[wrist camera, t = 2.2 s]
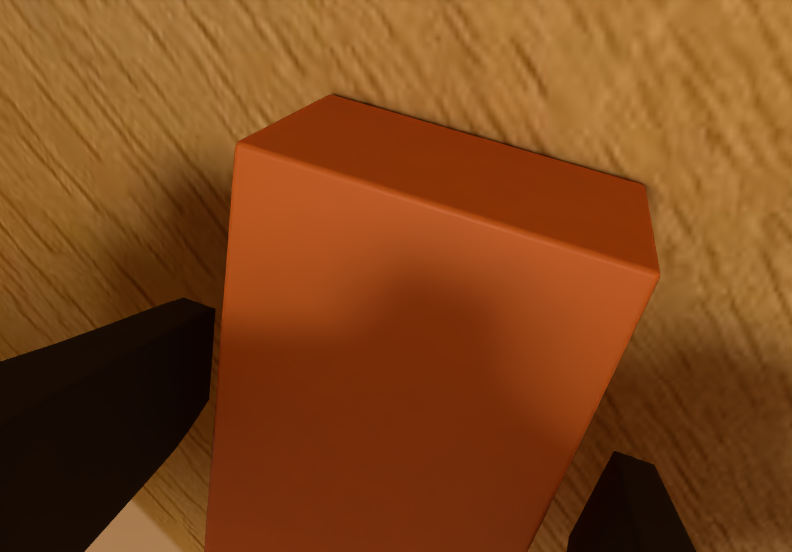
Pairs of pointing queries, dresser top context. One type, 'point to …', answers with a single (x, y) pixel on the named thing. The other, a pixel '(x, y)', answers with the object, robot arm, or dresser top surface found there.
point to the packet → (412, 333)
